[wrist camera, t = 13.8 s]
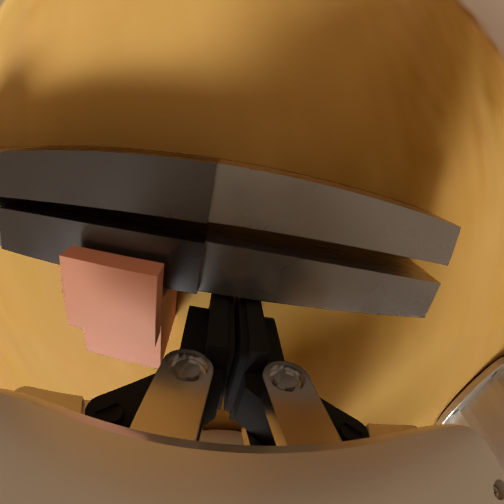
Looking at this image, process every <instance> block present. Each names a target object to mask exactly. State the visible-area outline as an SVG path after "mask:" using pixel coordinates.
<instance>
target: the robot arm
mask: <svg viewBox="0 0 504 504" xmlns="http://www.w3.org/2000/svg"><path fill="white" fill-rule="evenodd" d="M223 396H224V410H226V411H230V419H233V420H235V421H236V422H237V423H239V424H240V425H241V426H242V428H241V432H242V437H243V441H244V445H233V444H220V443H210V442H201V441H200V437H201V433H202V428H203V425H205V424H207V423H208V422H210V421H211V420H213V419H214V418H215V416H216V412H217V410H220V407H221V403H222V399H223ZM0 504H504V356H503V357H501V358H499V359H498V360H497V361H495V362H494V363H492V364H491V365H490V366H489V367H488V368H486V369H485V370H484V371H483V372H482V373H481V374H480V375H478V376H477V377H476V378H475V379H474V380H473V381H472V382H471V383H470V384H469V385H468V386H467V387H466V388H465V389H464V390H463V391H462V392H461V393H460V394H459V395H458V396H457V397H456V398H455V400H454V401H453V402H452V403H451V404H450V405H449V406H448V407H447V409H446V410H445V411H444V412H443V414H442V415H441V416H440V418H439V419H438V421H437V423H436V425H431V426H424V427H419V428H417V427H416V426H412V425H385V424H367V425H366V426H364V425H363V424H362V423H361V422H359V421H358V420H356V419H355V418H353V417H351V416H349V415H348V414H346V413H344V412H343V411H341V410H339V409H338V408H336V407H334V406H333V405H331V404H329V403H328V402H326V401H325V400H323V399H321V398H320V397H319V395H318V393H317V391H316V389H315V387H314V385H313V384H312V382H311V380H310V378H309V376H308V374H307V373H306V372H305V370H303V369H302V368H301V367H300V366H298V365H296V364H294V363H290V362H287V361H284V357H283V353H282V349H281V345H280V341H279V336H278V332H277V328H276V324H275V320H274V319H273V318H267V317H264V315H263V310H262V304H261V301H259V300H252V299H246V298H239V297H233V296H226V295H220V294H214V293H212V294H211V300H210V306H209V309H206V308H200V307H195V306H189V310H188V315H187V319H186V324H185V328H184V333H183V337H182V342H181V347H180V349H179V350H175V351H172V352H170V353H169V354H167V355H166V356H165V357H164V359H163V360H162V362H161V364H160V366H159V368H158V370H157V372H156V373H155V374H153V375H150V376H148V377H146V378H143V379H141V380H138V381H136V382H133V383H131V384H128V385H126V386H123V387H121V388H118V389H116V390H113V391H110V392H108V393H105V394H102V395H100V396H97V397H95V398H94V399H92V400H91V401H90V400H84V399H83V396H77V395H70V394H64V393H58V392H53V391H48V390H43V389H38V388H34V387H27V386H24V387H20V388H18V389H16V390H15V391H13V390H8V389H1V388H0Z"/></svg>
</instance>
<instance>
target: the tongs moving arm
mask: <svg viewBox="0 0 504 504" xmlns="http://www.w3.org/2000/svg"><path fill="white" fill-rule="evenodd" d="M0 197H7V198H17V199H27V200H36V201H45V202H54V203H62V204H70V205H79V206H87V207H95V208H102V209H110V210H118V211H125V212H132V213H140V214H147V215H154V216H161V217H168V218H175V219H181V220H188V221H195V222H201V223H208V222H214V223H221V224H227V225H233V226H240V227H246V228H252V229H258V230H264V231H270V232H276V233H282V234H287V235H293V236H299V237H304V238H310V239H316V240H321V241H327V242H332V243H337V244H343V245H348V246H353V247H359V248H364V249H369V250H374V251H379V252H384V253H389V254H394V255H399V256H404V257H409V258H414V259H419V260H424V261H428V262H433V263H438V264H442V265H447V266H448V264H449V261H450V259H451V256H452V253H453V250H454V247H455V244H456V241H457V238H458V235H459V232H460V229H461V227H459V226H457V225H455V224H453V223H451V222H449V221H447V220H445V219H442V218H440V217H438V216H436V215H434V214H431V213H429V212H427V211H425V210H422V209H420V208H417V207H414V206H411V205H409V204H406V203H402V202H399V201H396V200H393V199H390V198H387V197H384V196H380V195H377V194H374V193H370V192H367V191H363V190H360V189H356V188H353V187H349V186H345V185H342V184H338V183H334V182H330V181H326V180H322V179H318V178H314V177H310V176H305V175H301V174H297V173H292V172H287V171H283V170H278V169H273V168H268V167H263V166H258V165H252V164H247V163H241V162H235V161H229V160H223V159H217V158H210V157H203V156H196V155H188V154H180V153H171V152H162V151H152V150H141V149H128V148H112V147H88V146H35V147H13V148H0Z"/></svg>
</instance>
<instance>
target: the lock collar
mask: <svg viewBox="0 0 504 504" xmlns="http://www.w3.org/2000/svg"><path fill="white" fill-rule="evenodd" d="M59 258H60V269H61V279H62V287H63V295H64V301H65V308H66V314H67V319H68V324H69V325H71V326H74V327H77V328H80V329H83V333H84V338H85V343H86V348H87V350H88V351H92V352H95V353H98V354H102V355H105V356H109V357H112V358H116V359H120V360H124V361H128V362H132V363H136V364H140V365H144V366H149V367H153V368H159V366H160V364H161V362H162V360H163V357H164V354H165V350H166V346H167V343H168V339H169V336H170V332H171V329H172V325H173V322H174V318H175V310H176V299H177V290H172V289H167V288H163V275H164V263H159V262H154V261H149V260H143V259H138V258H133V257H128V256H123V255H118V254H113V253H108V252H103V251H98V250H93V249H88V248H84V247H79V246H74V245H72V246H71V247H70V248H68V249H67V250H66V251H64V252H63V253H62V254H60V255H59Z"/></svg>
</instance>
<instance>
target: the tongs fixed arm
mask: <svg viewBox="0 0 504 504" xmlns="http://www.w3.org/2000/svg"><path fill="white" fill-rule="evenodd" d="M0 245H1V246H2V249H5V250H8V251H12V252H15V253H19V254H22V255H26V256H29V257H33V258H36V259H40V260H44V261H47V262H51V263H55V264H59V265H60V258H59V255H60V254H62V253H63V252H64V251H66V250H67V249H68V248H70V247H71V246H72V245H74V246H79V247H84V248H88V249H93V250H98V251H103V252H108V253H113V254H118V255H123V256H128V257H133V258H138V259H143V260H149V261H154V262H159V263H164V275H163V288H167V289H172V290H177V291H183V292H188V293H194V294H197V291H202V292H208V293H214V294H220V295H226V296H233V297H239V298H246V299H252V300H259V301H266V302H273V303H281V304H288V305H296V306H304V307H312V308H321V309H329V310H339V311H348V312H358V313H369V314H381V315H393V316H406V317H422V318H424V317H425V315H426V313H427V311H428V309H429V307H430V305H431V303H432V301H433V299H434V297H435V295H436V292H437V290H438V288H439V286H440V283H439V282H438V281H437V280H435V279H434V278H433V277H432V276H430V275H429V274H428V273H427V272H425V271H424V270H423V269H421V268H420V267H419V266H418V265H416V264H415V263H414V262H412V261H411V260H410V259H408V258H407V257H404V256H399V255H394V254H389V253H384V252H379V251H374V250H369V249H364V248H359V247H353V246H348V245H343V244H337V243H332V242H327V241H321V240H316V239H310V238H304V237H299V236H293V235H287V234H282V233H276V232H270V231H264V230H258V229H252V228H246V227H240V226H233V225H227V224H221V223H214V222H208V223H201V222H195V221H188V220H181V219H175V218H168V217H161V216H154V215H147V214H140V213H132V212H125V211H118V210H110V209H102V208H95V207H87V206H79V205H70V204H62V203H54V202H45V201H36V200H27V199H17V198H7V197H0Z"/></svg>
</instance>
